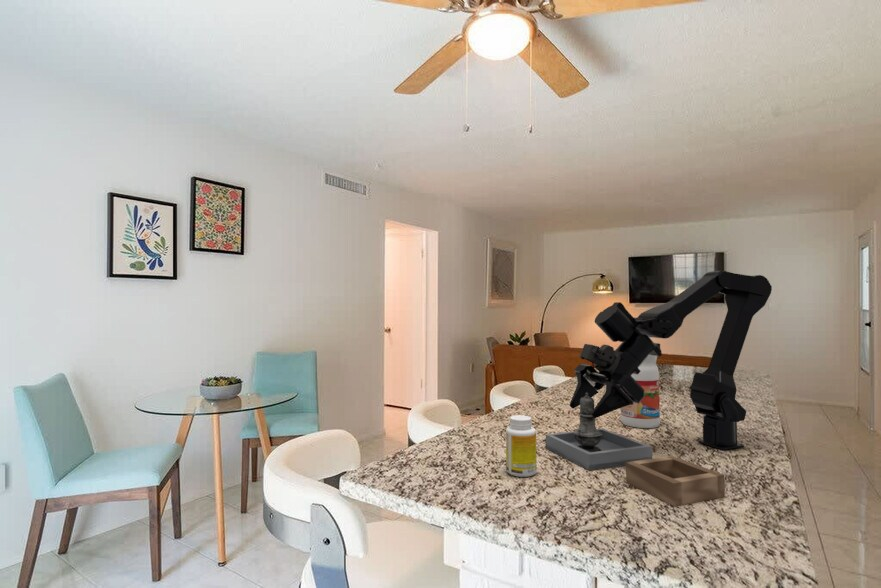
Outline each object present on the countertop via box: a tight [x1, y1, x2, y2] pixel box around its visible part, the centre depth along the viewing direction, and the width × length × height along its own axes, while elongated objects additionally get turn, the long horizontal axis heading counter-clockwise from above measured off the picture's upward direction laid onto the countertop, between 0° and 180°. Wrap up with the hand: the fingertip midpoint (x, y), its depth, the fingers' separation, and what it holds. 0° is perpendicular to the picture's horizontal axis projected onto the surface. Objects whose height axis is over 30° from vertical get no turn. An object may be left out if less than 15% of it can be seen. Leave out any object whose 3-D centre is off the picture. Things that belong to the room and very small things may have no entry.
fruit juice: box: [620, 316, 661, 429], centre depth 123 cm, size 9×9×28 cm
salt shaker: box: [572, 392, 603, 452], centre depth 98 cm, size 6×6×12 cm
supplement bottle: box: [505, 414, 537, 478], centre depth 87 cm, size 6×6×10 cm
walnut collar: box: [625, 455, 726, 507], centre depth 79 cm, size 10×10×4 cm
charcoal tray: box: [545, 427, 653, 471], centre depth 98 cm, size 15×15×3 cm
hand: (581, 411), depth 98 cm, fingers open, 9 cm apart
